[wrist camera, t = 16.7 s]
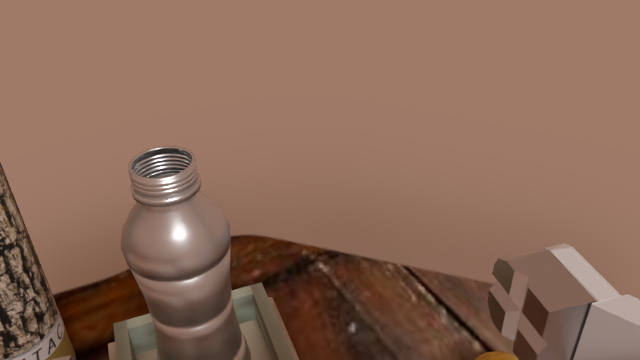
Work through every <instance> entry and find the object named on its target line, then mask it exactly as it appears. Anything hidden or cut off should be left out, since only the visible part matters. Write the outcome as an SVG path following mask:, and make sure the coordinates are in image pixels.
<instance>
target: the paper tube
mask: <svg viewBox="0 0 640 360" xmlns="http://www.w3.org/2000/svg"><path fill="white" fill-rule="evenodd" d="M70 355H71V356H75V351H74V349H73V346H72V344H71V341H70V339H69V336H68V334H67V331H66V328H65V326H64V323H63V320H62V317H61V315H60V312H59V310H58V307H57V305H56V302H55V300H54V297H53V295H52V292H51V290H50V287H49V284H48V282H47V280H46V277H45V275H44V272H43V270H42V267H41V264H40V262H39V259H38V257H37V254H36V252H35V249H34V246H33V244H32V241H31V239H30V236H29V234H28V231H27V229H26V226H25V224H24V221H23V219H22V216H21V214H20V211H19V208H18V206H17V203H16V201H15V198H14V196H13V193H12V191H11V188H10V186H9V183H8V181H7V178H6V176H5V173H4V171H3V168H2V165H1V163H0V360H50V359H55V358H60V357H65V356H70ZM75 358H76V357H75Z"/></svg>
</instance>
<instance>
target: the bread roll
mask: <svg viewBox="0 0 640 360" xmlns="http://www.w3.org/2000/svg"><path fill="white" fill-rule="evenodd" d="M475 360H519V359H518V358H517V357H516V356H514V355H512V354H510V353H505V352H502V351H495V352H486V353H483V354H482V355H480V356H478V357H477V358H476V359H475Z"/></svg>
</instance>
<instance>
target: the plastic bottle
mask: <svg viewBox="0 0 640 360" xmlns="http://www.w3.org/2000/svg"><path fill="white" fill-rule="evenodd" d="M129 175H130V179H131V191H132V196H133V198H134V200H136V201H137V202H136V204H135V205H134V207H133V208H132V210H131V212H130V213H129V215H128V217H127V219H126V221H125V223H124V225H123V229H122V237H121V249H122V252H123V254H124V257H125V259H126V262H127V264H128V266H129V268H130V270H131V272H132V274H133V276H134V278H135V280H136V281H137V283H138V285H139V287H140V289H141V291H142V293H143V295H144V298H145V301H146V304H147V306H148V309H149V311H150V315H151V317H152V320H153V323H154V329H155V335H156V342H157V348H158V352H157V360H251V353H250V350H249V347H248V344H247V341H246V338H245V336H244V334H243V332H242V331H241V329H240V326H239V323H238V319H237V316H236V313H235V309H234V306H233V299H232V292H231V279H230V244H231V236H230V226H229V223H228V220H227V219H226V217H225V215H224V213H223V212H222V210H221V209H220V207H219V206H218V205H217V204H216V203H215V202H214V201H212V200H211V199H210V198H209V197H208V196H207V195H205V194H204V193H203V192H201V191H200V190H199V189H200V187H201V180H200V176H199V173H198V172H197V166H196V160H195V157H194V155H193V153H192V152H191V151H189V150H187V149H185V148H182V147H176V146H163V147H157V148H152V149H149V150H146V151H144V152H142V153H140V154H138V155H137V156H135V157H134V158H133V159H132V160H131V161H130V163H129Z"/></svg>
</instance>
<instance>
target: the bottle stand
mask: <svg viewBox="0 0 640 360" xmlns="http://www.w3.org/2000/svg"><path fill="white" fill-rule="evenodd" d="M231 292H232V299H233V306H234V309H235V313H236V316H237V319H238V323H239V326H240V329H241V331H242V332H243V334H244V336H245V338H246V341H247V344H248V347H249V350H250V353H251V360H299V358H298V356H297V353H296V351H295V349H294V346H293V344H292V342H291V339H290V337H289V335H288V332H287V330H286V328H285V325H284V323H283V321H282V318H281V316H280V314H279V311H278V309H277V307H276V305H275V302H274V300H273V298H272V297H269V298H268V297H267V294H266V292H265V289H264V287H263V285H262V282H261V283H257V284H254V285H250V286H246V287H243V288H239V289H236V290H232V291H231ZM113 326H114V335H115V342H113V343H109V344H108V350H109V360H157V352H158V348H157V342H156V335H155V329H154V323H153V320H152V317H151V315H150V313H149V314H146V315H142V316H139V317H135V318H131V319H128V320H124V321H121V322H117V323H113Z"/></svg>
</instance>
